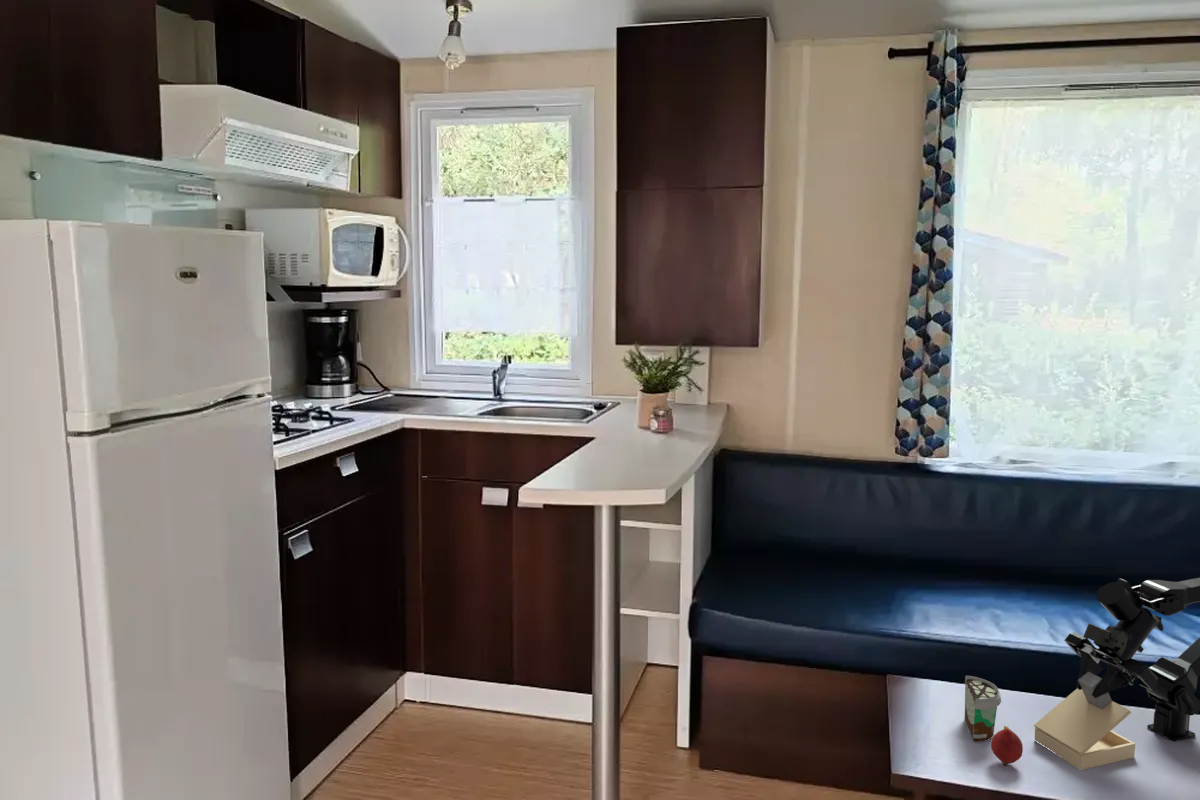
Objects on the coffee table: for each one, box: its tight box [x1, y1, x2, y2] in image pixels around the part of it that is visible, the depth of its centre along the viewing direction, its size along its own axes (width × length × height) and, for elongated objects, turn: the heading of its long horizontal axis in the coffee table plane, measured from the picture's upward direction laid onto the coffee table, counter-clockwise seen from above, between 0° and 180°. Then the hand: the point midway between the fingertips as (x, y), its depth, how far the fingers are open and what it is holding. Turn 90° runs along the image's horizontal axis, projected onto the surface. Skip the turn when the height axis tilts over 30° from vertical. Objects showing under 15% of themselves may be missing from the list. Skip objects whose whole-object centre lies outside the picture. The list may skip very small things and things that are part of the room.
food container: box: [964, 675, 1002, 743], centre depth 197 cm, size 12×6×10 cm, turn 168°
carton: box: [1034, 727, 1136, 771], centre depth 190 cm, size 14×12×3 cm
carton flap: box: [1033, 672, 1132, 756], centre depth 188 cm, size 14×12×7 cm
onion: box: [990, 725, 1024, 765], centre depth 185 cm, size 6×6×8 cm
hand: (1085, 692), depth 189 cm, fingers closed on carton flap, 3 cm apart
